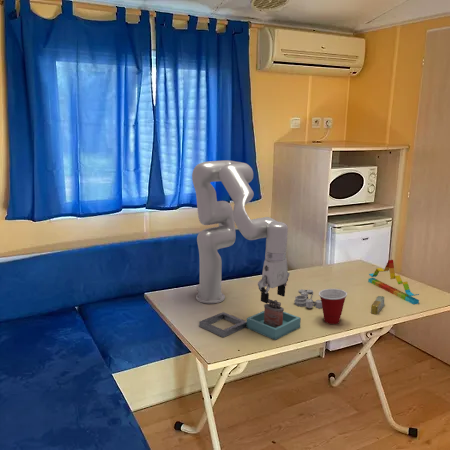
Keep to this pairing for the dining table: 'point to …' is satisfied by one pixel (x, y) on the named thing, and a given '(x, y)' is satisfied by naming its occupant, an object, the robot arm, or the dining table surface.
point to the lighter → (273, 314)
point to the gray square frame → (223, 333)
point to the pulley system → (307, 300)
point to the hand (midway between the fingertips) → (272, 298)
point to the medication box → (377, 305)
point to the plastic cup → (332, 304)
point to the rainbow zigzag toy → (405, 296)
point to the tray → (258, 326)
